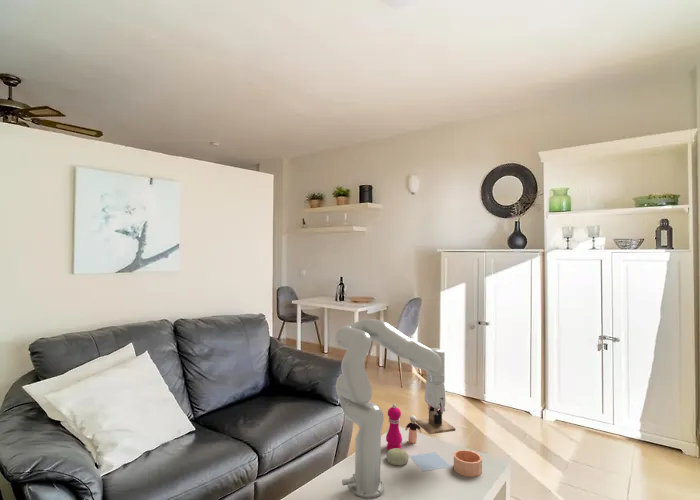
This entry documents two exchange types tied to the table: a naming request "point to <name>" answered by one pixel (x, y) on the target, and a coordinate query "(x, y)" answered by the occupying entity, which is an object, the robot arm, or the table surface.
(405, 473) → the table surface
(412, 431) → the grandmother figurine
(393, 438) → the pepper mill
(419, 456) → the mat
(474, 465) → the bowl
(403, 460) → the sea urchin shell
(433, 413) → the lid
